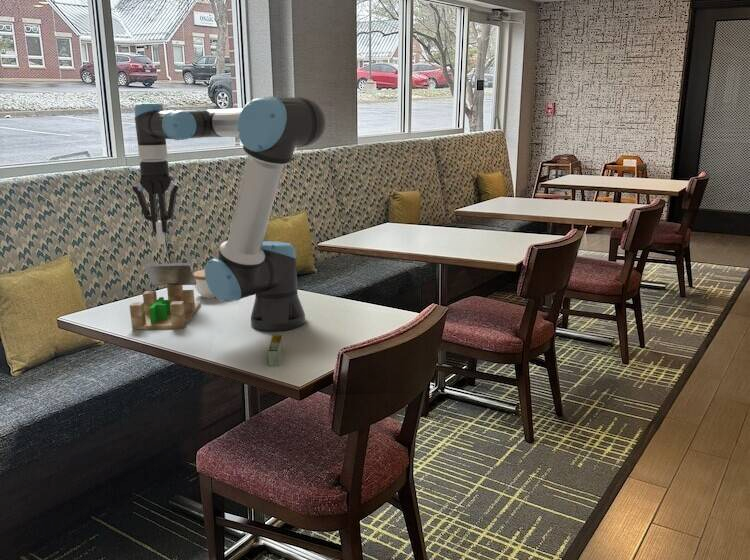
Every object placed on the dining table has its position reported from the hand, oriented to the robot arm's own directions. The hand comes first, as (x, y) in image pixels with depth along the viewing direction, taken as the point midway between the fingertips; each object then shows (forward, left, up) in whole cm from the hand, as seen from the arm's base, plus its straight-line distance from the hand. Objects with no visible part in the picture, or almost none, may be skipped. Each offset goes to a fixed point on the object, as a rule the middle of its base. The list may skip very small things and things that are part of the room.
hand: (161, 243), depth 195 cm
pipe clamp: (+1, +5, -21) cm, 21 cm away
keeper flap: (0, -5, -11) cm, 12 cm away
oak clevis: (0, +2, -22) cm, 22 cm away
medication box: (-36, +37, -22) cm, 56 cm away
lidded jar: (-8, -21, -22) cm, 31 cm away
